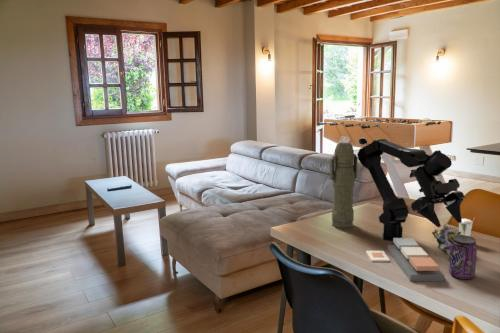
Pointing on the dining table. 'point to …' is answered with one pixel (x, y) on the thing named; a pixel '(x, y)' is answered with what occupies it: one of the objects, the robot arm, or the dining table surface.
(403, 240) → the grey-blue key
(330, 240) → the dining table surface
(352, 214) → the thermos
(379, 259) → the card
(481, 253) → the dining table surface
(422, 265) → the terracotta key
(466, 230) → the milkshake
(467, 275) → the beverage can
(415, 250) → the off-white key
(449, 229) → the passion flower
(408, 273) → the keypad board
